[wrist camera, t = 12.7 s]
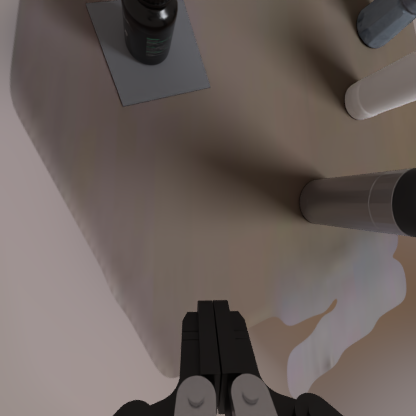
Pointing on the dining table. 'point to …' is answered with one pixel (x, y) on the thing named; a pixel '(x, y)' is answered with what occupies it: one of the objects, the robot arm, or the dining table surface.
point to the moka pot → (384, 20)
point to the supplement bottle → (149, 28)
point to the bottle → (383, 89)
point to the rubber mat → (141, 73)
